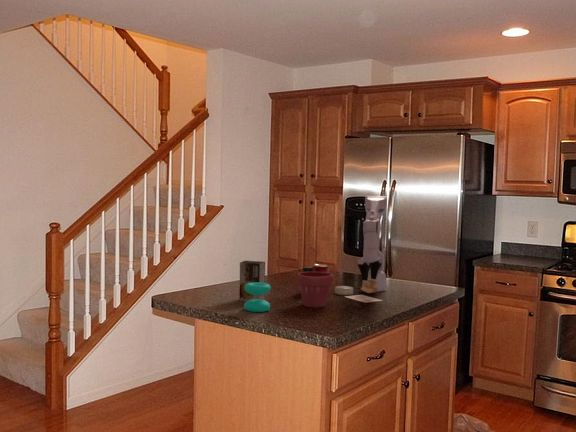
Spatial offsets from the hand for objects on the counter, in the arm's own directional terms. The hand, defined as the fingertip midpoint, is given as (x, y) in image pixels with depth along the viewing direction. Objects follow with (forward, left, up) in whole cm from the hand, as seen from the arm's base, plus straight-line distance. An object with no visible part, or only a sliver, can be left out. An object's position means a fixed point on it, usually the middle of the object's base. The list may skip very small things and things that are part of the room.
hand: (369, 279), depth 247 cm
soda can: (+8, -24, -9) cm, 27 cm away
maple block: (0, 0, -5) cm, 5 cm away
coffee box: (+46, -20, -9) cm, 51 cm away
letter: (+1, -2, -8) cm, 9 cm away
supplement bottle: (+17, -21, -9) cm, 28 cm away
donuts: (+53, -4, -9) cm, 54 cm away
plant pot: (+28, -1, -9) cm, 30 cm away
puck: (+2, -15, -9) cm, 17 cm away
